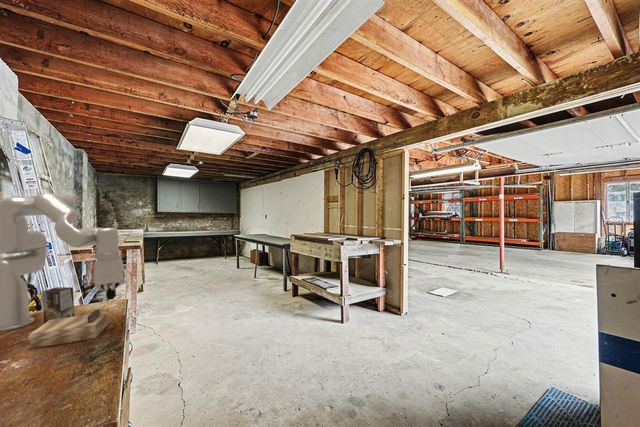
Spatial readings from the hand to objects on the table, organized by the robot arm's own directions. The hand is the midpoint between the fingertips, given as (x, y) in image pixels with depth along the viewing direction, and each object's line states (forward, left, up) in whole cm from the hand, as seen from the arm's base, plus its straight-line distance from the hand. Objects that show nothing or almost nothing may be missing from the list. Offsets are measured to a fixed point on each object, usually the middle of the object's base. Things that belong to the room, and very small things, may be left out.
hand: (111, 298), depth 118 cm
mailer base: (-14, 0, -14) cm, 19 cm away
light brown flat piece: (-14, 0, -10) cm, 17 cm away
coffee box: (-25, +17, -14) cm, 33 cm away
